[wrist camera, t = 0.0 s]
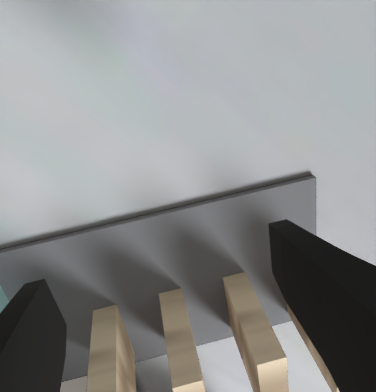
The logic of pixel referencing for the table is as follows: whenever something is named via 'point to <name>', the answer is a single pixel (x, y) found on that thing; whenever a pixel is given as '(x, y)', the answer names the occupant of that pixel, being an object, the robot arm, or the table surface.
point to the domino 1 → (3, 299)
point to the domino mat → (163, 267)
